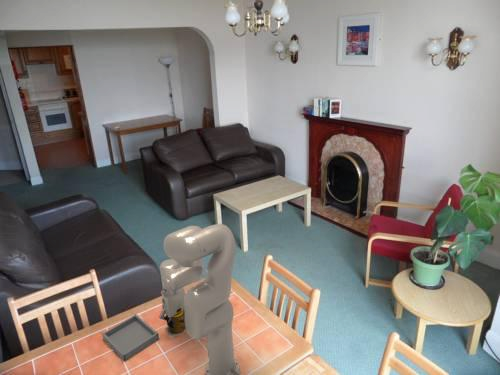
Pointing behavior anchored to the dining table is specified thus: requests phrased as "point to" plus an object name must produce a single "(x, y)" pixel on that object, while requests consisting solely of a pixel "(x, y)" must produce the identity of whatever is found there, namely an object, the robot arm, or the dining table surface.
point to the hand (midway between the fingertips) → (177, 322)
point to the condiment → (177, 324)
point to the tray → (130, 337)
